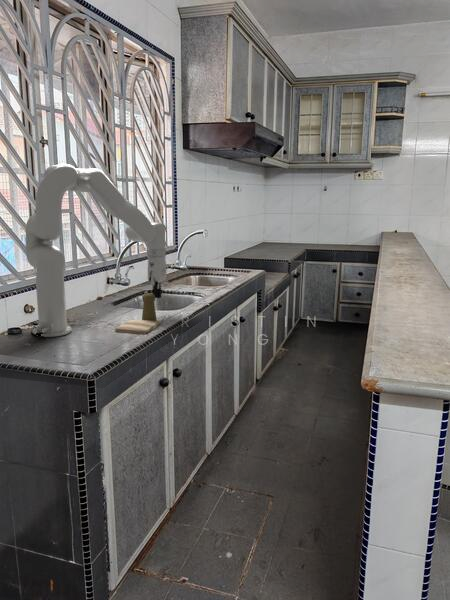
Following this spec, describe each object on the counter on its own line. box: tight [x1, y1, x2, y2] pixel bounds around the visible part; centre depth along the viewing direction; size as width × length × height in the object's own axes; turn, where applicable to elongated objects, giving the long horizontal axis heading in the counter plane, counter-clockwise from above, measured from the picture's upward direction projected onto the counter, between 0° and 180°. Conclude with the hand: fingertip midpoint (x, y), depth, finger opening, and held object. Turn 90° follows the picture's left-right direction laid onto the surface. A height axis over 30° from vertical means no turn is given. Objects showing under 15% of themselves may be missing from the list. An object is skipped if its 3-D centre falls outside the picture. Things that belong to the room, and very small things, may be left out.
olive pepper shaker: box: [141, 292, 158, 321], centre depth 194 cm, size 6×6×11 cm
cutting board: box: [115, 318, 161, 335], centre depth 184 cm, size 14×12×1 cm
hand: (157, 297), depth 202 cm, fingers closed
